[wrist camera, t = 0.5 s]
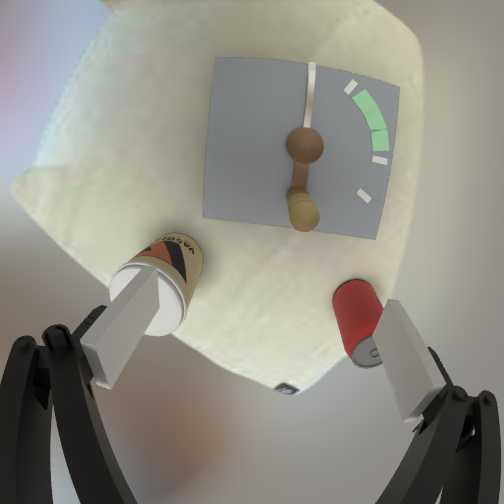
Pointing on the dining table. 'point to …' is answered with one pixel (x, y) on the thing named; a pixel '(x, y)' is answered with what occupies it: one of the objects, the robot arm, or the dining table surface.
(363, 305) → the beer can
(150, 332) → the coffee cup
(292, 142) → the peg dial
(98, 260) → the dining table surface
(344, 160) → the board
